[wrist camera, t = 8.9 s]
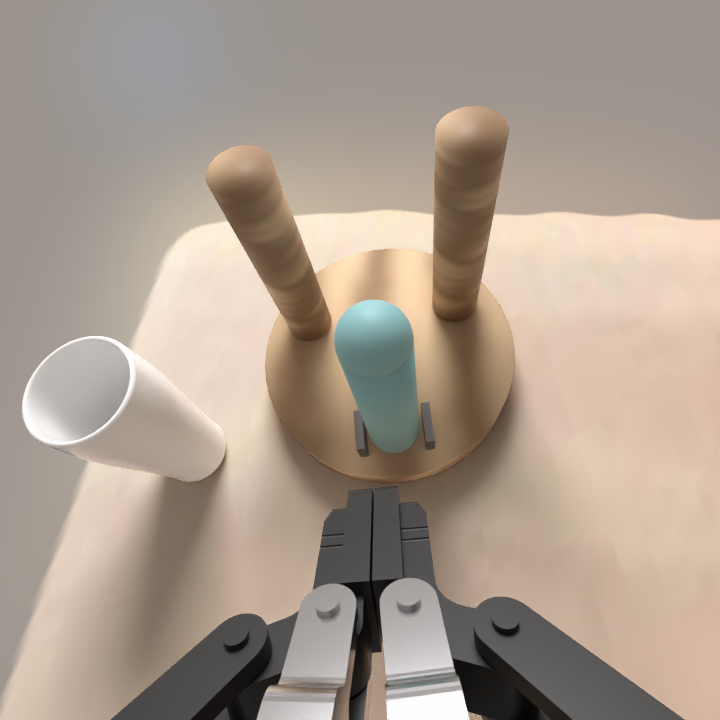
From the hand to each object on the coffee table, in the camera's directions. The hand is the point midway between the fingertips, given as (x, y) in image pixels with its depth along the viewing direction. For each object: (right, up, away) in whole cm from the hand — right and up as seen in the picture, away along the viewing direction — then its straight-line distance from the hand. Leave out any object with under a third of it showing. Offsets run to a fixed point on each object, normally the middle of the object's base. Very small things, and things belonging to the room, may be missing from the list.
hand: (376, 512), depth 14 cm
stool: (+2, +4, +26) cm, 26 cm away
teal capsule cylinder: (+2, -1, +20) cm, 20 cm away
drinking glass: (-14, -3, +25) cm, 29 cm away
